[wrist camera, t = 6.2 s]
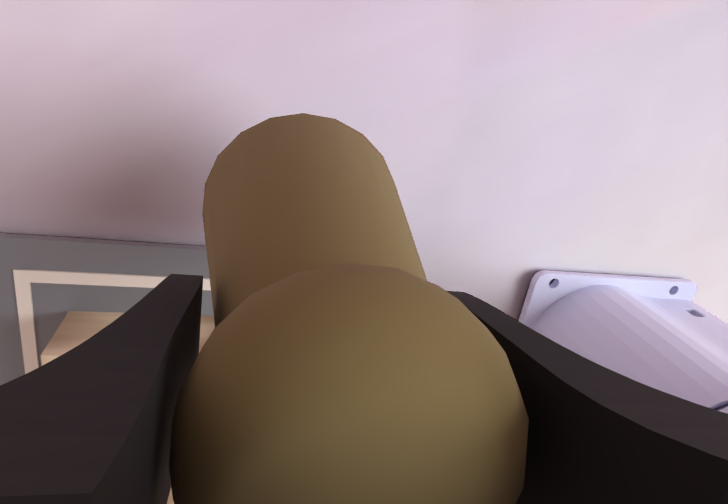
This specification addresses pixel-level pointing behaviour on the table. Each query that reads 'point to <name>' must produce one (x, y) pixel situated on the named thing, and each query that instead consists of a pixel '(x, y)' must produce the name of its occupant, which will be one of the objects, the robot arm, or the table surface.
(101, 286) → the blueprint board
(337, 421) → the cork
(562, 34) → the table surface
